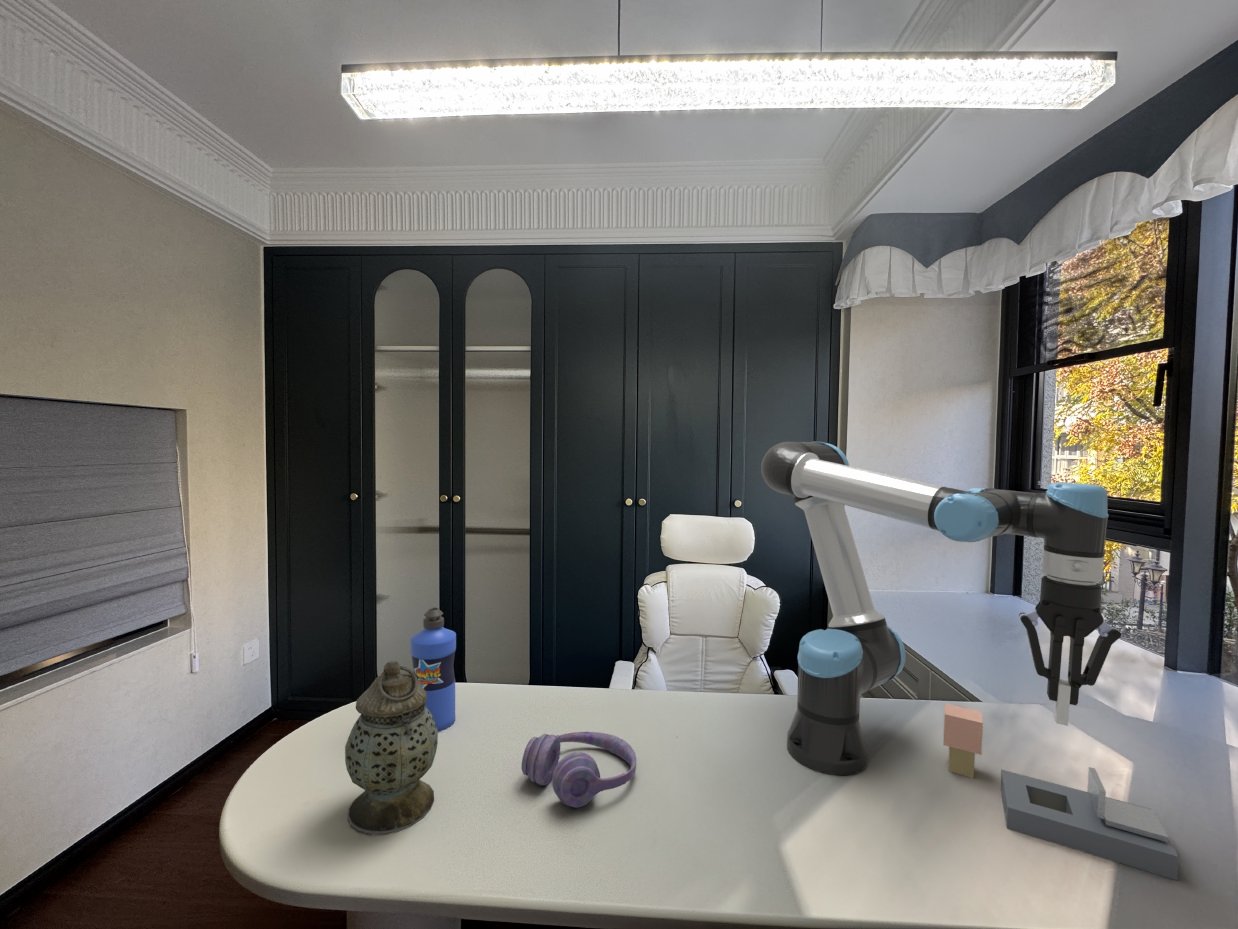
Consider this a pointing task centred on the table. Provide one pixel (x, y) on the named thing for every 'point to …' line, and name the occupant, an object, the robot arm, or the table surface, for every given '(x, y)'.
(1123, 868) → the table surface
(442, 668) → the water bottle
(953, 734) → the plug
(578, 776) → the headphones
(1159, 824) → the shutter
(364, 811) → the lantern
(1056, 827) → the socket block
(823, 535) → the robot arm
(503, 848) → the table surface
